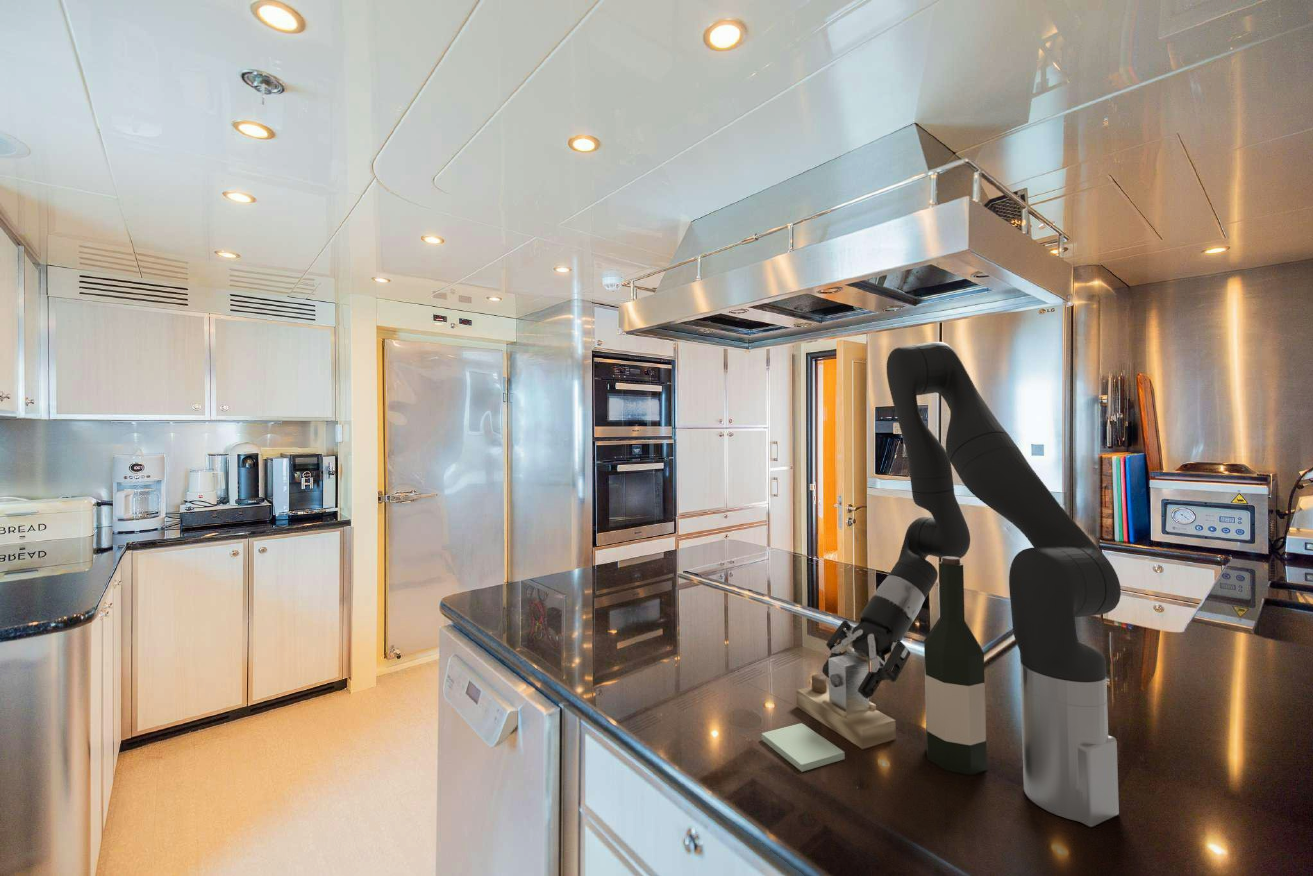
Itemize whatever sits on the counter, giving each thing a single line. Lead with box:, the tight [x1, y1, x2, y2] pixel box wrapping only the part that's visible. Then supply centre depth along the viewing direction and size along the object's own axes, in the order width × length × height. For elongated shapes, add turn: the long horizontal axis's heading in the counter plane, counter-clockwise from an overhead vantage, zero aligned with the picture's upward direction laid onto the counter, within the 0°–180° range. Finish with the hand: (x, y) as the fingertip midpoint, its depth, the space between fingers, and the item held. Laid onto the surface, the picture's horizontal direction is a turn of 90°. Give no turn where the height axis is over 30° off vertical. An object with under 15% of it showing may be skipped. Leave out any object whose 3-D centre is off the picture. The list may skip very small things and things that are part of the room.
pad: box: [761, 722, 846, 772], centre depth 87 cm, size 10×8×1 cm
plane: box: [796, 673, 897, 750], centre depth 95 cm, size 16×7×5 cm, turn 24°
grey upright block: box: [828, 654, 870, 715], centre depth 94 cm, size 4×6×8 cm
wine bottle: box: [923, 556, 988, 776], centre depth 84 cm, size 8×8×30 cm
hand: (843, 685), depth 94 cm, fingers open, 8 cm apart
